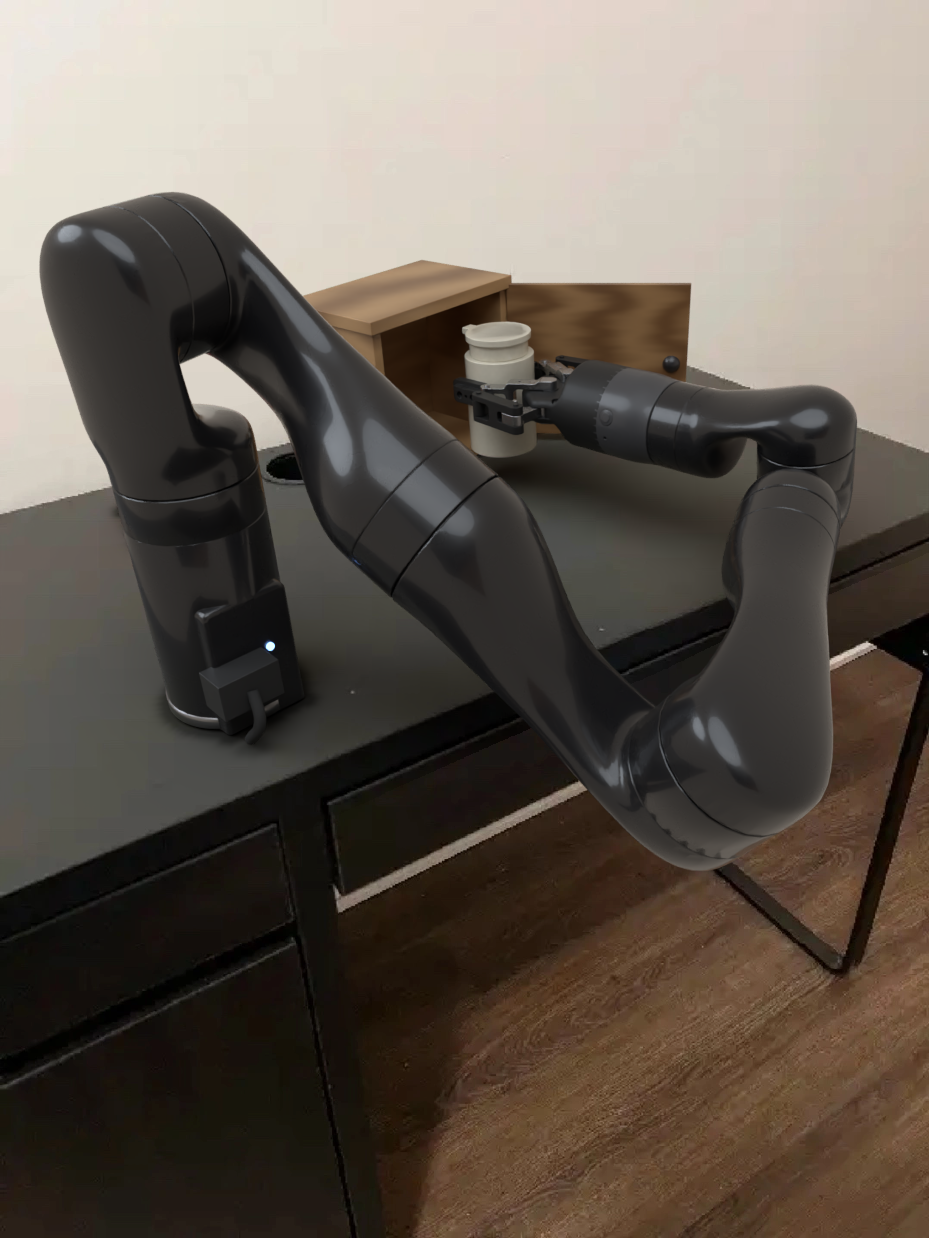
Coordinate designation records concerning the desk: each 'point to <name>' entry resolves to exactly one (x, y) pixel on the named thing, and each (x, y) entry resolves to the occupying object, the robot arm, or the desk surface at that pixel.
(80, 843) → the desk surface
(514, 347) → the white jar
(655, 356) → the cabinet
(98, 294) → the robot arm
